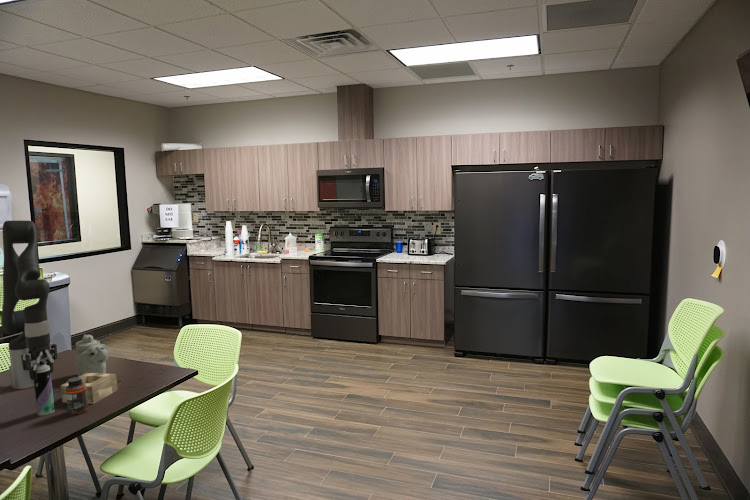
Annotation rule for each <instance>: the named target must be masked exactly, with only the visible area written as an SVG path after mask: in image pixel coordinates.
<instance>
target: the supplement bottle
mask: <svg viewBox="0 0 750 500" xmlns="http://www.w3.org/2000/svg"><path fill="white" fill-rule="evenodd" d="M67 382H68V384H69V385H68V386H67V387H66V398H67V403H66V404H67V412H68V415H71V416H72V415H73V416H74V415H81V414H83V413H85V412H87V411H88V410H89V404H88V398H87V390H86V385H85V384H84V383H82V378H81V377H79V376H77V377H76V376H75V377H71V378H69V379H68V380H67Z"/></svg>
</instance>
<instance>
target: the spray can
mask: <svg viewBox="0 0 750 500" xmlns="http://www.w3.org/2000/svg"><path fill="white" fill-rule="evenodd" d="M36 371H37V380H34V386H33V387H34V392H35V393H34V394H35V401H36V403H35V404H36V411H37V415H38V416H47V415H51V414H53V413H54V412H55V401H54V392H53V383H52V373H51V371H50V366H49V365H46V362H45V361H44V360H40V361H39V364H37V367H36Z"/></svg>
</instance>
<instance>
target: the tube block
mask: <svg viewBox="0 0 750 500" xmlns="http://www.w3.org/2000/svg"><path fill="white" fill-rule="evenodd" d="M78 377H81V378H82V383H84V384H85V385H86V390H87V398H88V405H90V404H92V405H94V404H96V403H97V402H99V401H101V400H103V399H105V398H107V397H108V396H110V395H111V394H113V393H115V392H117V391H118V381H117V380H118V379H117V374H116V373H106V374H104V373H85V374H83V375H81V376H78ZM68 385H69V384H68V381H66V382H65V383H63V384H61V385H60V392H61V394H60V395H61V401H62V402H61V403H66V404H67V398H66V387H67V386H68Z"/></svg>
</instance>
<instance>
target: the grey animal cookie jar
mask: <svg viewBox="0 0 750 500" xmlns="http://www.w3.org/2000/svg"><path fill="white" fill-rule="evenodd" d="M75 349H76V352H75V357H74V358H75V362H76V369H77V377H79V376H81V375H83V374H85V373H104V374H107V363H106V362H107V361H108V359H109V357H110V351H109V348H108V346H107V345H106V344H104V343H101V342H100V340H97V339H94V336H93V335H92V334H83V337H82V339H81V340H80V341H77V342H75Z"/></svg>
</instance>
